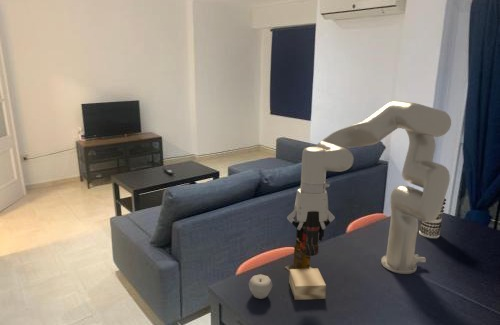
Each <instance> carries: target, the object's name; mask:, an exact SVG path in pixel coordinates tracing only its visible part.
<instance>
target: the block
mask: <svg viewBox="0 0 500 325" xmlns="http://www.w3.org/2000/svg"><path fill="white" fill-rule="evenodd" d="M311 268H312V269H290V271H289V278H288V280H289V281H288V283H289V285H290V288H291V292H292V295H293V299H294V300H295V301H296V300H297V301H298V300H300V301H302V300H321V299H324V300H325V299H326V291H327V284H326V282H325V280H324V278H323V276H322V274H321V272H320V270H319V268H318V267H316V268H313V267H311Z"/></svg>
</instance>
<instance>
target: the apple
mask: <svg viewBox="0 0 500 325" xmlns="http://www.w3.org/2000/svg"><path fill="white" fill-rule="evenodd" d="M248 287H249V290H250V292H251V294H252V295H253V297H254V298H256V299H258V300H259V299H260V300H262V299H265V298H267V297H268V295H269V293H270V292H271V290H272V287H273V283H272V279H271V278H270V277H269V276H268V275H264V274H261V273H260V274H259V273H258V274H256V275H253V276H252V277H251V278H250V279H249V281H248Z"/></svg>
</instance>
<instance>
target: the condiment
mask: <svg viewBox="0 0 500 325" xmlns="http://www.w3.org/2000/svg"><path fill="white" fill-rule="evenodd" d="M293 250H294V253H293V263H291V264H290V265H287V266H284V268H285V269H286V270H288V272H290V269H312V268H313V267H311V256H307V255H304V254H302V253H301V252H300V241H299V239H298V238H297V237H296V238H295V245H294V249H293Z"/></svg>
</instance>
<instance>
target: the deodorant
mask: <svg viewBox="0 0 500 325" xmlns="http://www.w3.org/2000/svg"><path fill="white" fill-rule="evenodd" d="M301 229H302V241H300V252H301V253H302V254H304V255H307V256H310V257H313V256H316V255H318V254H319V244H320V242H319V241H320V240H319V232H320V221H319V212H308V213H307V219H306V222H304V223H303V225H302V227H301Z"/></svg>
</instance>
